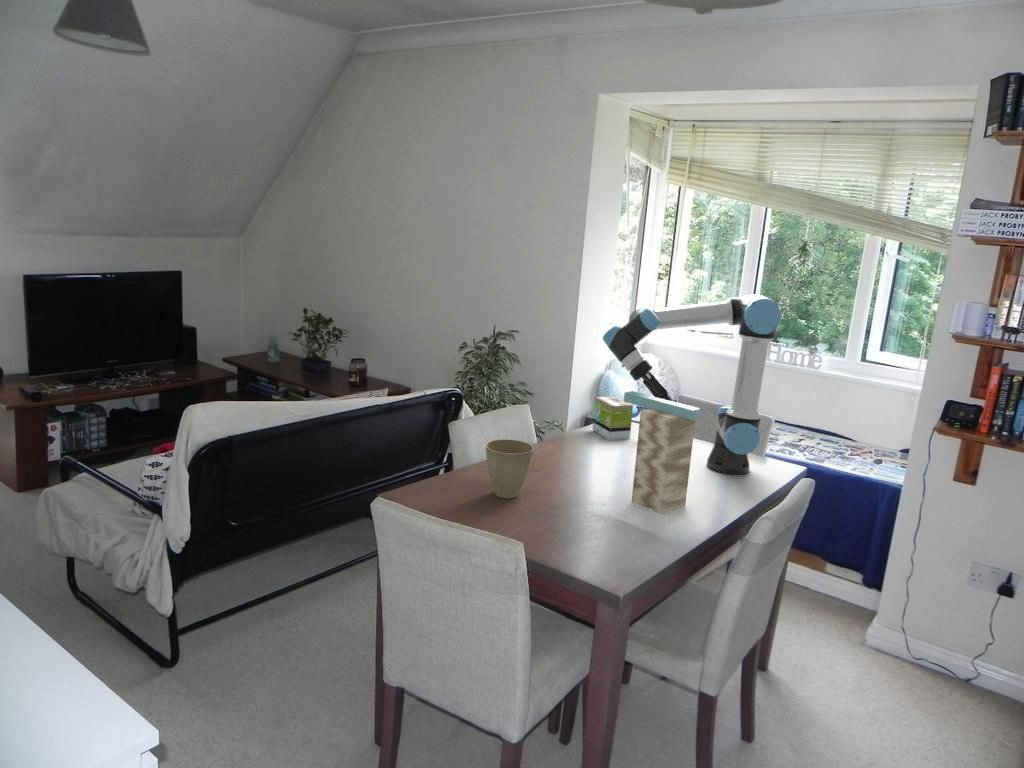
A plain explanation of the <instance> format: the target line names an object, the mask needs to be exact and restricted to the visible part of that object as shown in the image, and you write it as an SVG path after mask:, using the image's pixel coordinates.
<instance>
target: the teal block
mask: <svg viewBox="0 0 1024 768" xmlns="http://www.w3.org/2000/svg"><path fill="white" fill-rule="evenodd" d="M623 393H624V396H623V401H624V402H627V403H629V404H632V405H633V406H634V405H635V406H638V407H643V408H644V409H648V408H649V409H653V410H657V411H660V412H664V413H668V414H671V415H675V416H679V417H682V418H686V419H690V420H695V421H696V420H699V419H700V418H701V412H702V411H701V410H702V409H701V408H699V407H696V406H692V405H687V404H683V403H680V402H677V401H675V402H673V401H669V400H665V399H661V398H657V397H654V396H653V395H649V394H644V393H642V392H641V393H640V392H636V391H633V390H632V391H630V390H629V391H625V392H623Z"/></svg>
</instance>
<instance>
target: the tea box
mask: <svg viewBox="0 0 1024 768" xmlns="http://www.w3.org/2000/svg"><path fill="white" fill-rule="evenodd" d="M593 407H594V408H593V418H592V419H593V420H592V431H594V432H595V433H597V434H599V435H600V436H602V437H603V438H606V439H607V440H608V441H614V440H615V441H616V440H617V441H618V440H620V441H621V440H629V439H631V431H632V429H631V428H632V419H633V408H634V404H631V403H627V402H624V399H621V398H619V397H617V396H616V395H615V396H612V395H611V396H597V397H594V406H593Z"/></svg>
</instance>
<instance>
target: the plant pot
mask: <svg viewBox="0 0 1024 768" xmlns="http://www.w3.org/2000/svg"><path fill="white" fill-rule="evenodd" d="M533 453H534V446H533V445H532V444H531V443H529V442H526V441H522V440H519V439H517V440H516V439H508V438H507V439H506V438H504V439H502V438H501V439H494V440H491V441H487V442H486V444H485V454H486V463H487V468H488V469H487V470H488V474H489V477H490V478H489V479H490V483H491V487H492V490H493V492H494V495H495V496H496V497H499V498H501V499H513V498H517V497H518V496H519V494H520V492H521V489H522V487H523V485H524V483H525V481H526V478H527V475H528V471H529V469H530V466H531V461H532V457H533Z"/></svg>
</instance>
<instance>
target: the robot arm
mask: <svg viewBox="0 0 1024 768" xmlns="http://www.w3.org/2000/svg"><path fill="white" fill-rule="evenodd" d="M781 320H782V311H781V309H780V307H779V304H778V303H777V302H776V301H774V299H772V298H770V297H767V296H765V295H761V294H758V293H755V294H748V295H743V296H738V297H730V298H727V299H726V300H725V301H719V302H717V301H716V302H709V303H699V304H689V305H679V306H669V307H659V308H658V307H657V308H651V307H646V308H645V309H642V308H640V309H639V308H638V309H636V310H634V311H632V313H631V314H630V317H629V321H628V323H626V324H625V325H624V326H622V327H621V326H620V325H614V326H612V327H611V328H609V329H608V330H607V331H606V332H605V333H604V334H603V335H602V341H603V342H604V344H605V345H606V346H607V347H608V349H609V350H610V352H611V353H612V355H613V356H615V357H616V359H617V360H618V361H619V363H621V368H625V369H626V371H627V372H629V375H630V376H631V378H632V379H633V380H634V381H639V380H640V379H642V383H643V385H644V386H645V387H646V389H648V390H649V392H650V393H651V394H652V396H653V397H657V398H661V399H665V400H669V401H673V402H676V401H675V400H674V399H673V398H672V397H671V395H670V394H669V393H668V390H667V389H666V388H665V387H664V386H663V384H661V383H660V381H658V379H657V378H656V377H655V375H654V374H652V372H651V370H652V369H653V365H651V363H650V362H649V361H648V359H645V358H646V357H645V356H644V354H643V353H642V352H641V351H640V349H639V348H637V347H636V345H637V344H638V343H639V342H640V341H642V340H643V339H644V338H646V337H647V336H649V335H650V334H652V332H654V331H657V330H665V329H675V328H676V329H677V328H687V327H697V326H699V327H700V326H710V325H718V324H728V325H730V326H739V330H738V335H739V336H740V338H741V346H740V347H741V349H740V352H739V359H738V366H737V371H736V379H735V384H734V388H733V389H734V390H733V395H732V396H733V397H732V401H731V406H729V405H728V406H727V405H723V406H721V407H719V408H718V411H717V412H718V413H717V414H716V415H717V418H716V427H715V435H714V444H713V447H712V449H711V452H710V453H709V456H708V457H707V460H706V466H708V467H707V468H708V469H710V468H711V470H712V469H713V471H714V470H716V472H718V471H720V472H719V473H721V472H724V473H723V474H727V473H731V474H730V475H744V474H743V473H745V474H747V472H748V471H750V461H749V456H748V454H750V453H752V452H754V451H755V450H756V449H757V448H758V446H759V445H760V442H761V434H760V431H759V427H760V423H761V415H760V413H759V412H758V409H759V408H758V407H759V402H760V401H759V400H760V395H761V390H762V384H763V378H764V372H765V367H766V361H767V356H768V349H769V344H770V342H772V341H773V340H775V336H776V331H777V328H778V327H779V325H780V323H781ZM748 473H749V472H748Z"/></svg>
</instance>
